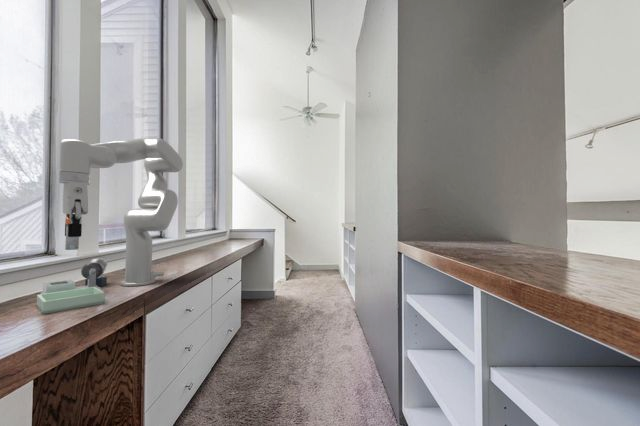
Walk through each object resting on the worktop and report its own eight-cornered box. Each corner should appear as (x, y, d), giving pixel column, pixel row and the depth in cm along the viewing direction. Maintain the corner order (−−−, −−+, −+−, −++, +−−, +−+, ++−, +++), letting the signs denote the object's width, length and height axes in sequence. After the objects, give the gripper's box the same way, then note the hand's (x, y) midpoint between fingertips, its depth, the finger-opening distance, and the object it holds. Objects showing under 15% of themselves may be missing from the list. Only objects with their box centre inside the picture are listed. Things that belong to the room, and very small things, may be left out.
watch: (108, 283, 121) (109, 257, 122) (98, 288, 113) (99, 259, 114) (93, 284, 120) (94, 257, 120) (82, 288, 112) (83, 260, 112)
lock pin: (78, 248, 94) (79, 218, 95) (81, 249, 92) (82, 218, 92) (62, 249, 92) (64, 217, 92) (65, 250, 89) (66, 217, 89)
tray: (94, 296, 101) (95, 286, 101) (104, 303, 94) (104, 292, 94) (36, 306, 90) (37, 294, 90) (42, 314, 82) (43, 302, 82)
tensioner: (97, 289, 112) (98, 260, 112) (104, 293, 106) (105, 263, 106) (40, 297, 99) (41, 265, 99) (45, 302, 93) (46, 268, 94)
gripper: (96, 178, 90) (94, 237, 90) (83, 182, 101) (81, 235, 100) (64, 175, 84) (62, 238, 84) (54, 180, 95) (52, 235, 94)
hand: (73, 235), depth 92 cm, fingers closed on lock pin, 3 cm apart
